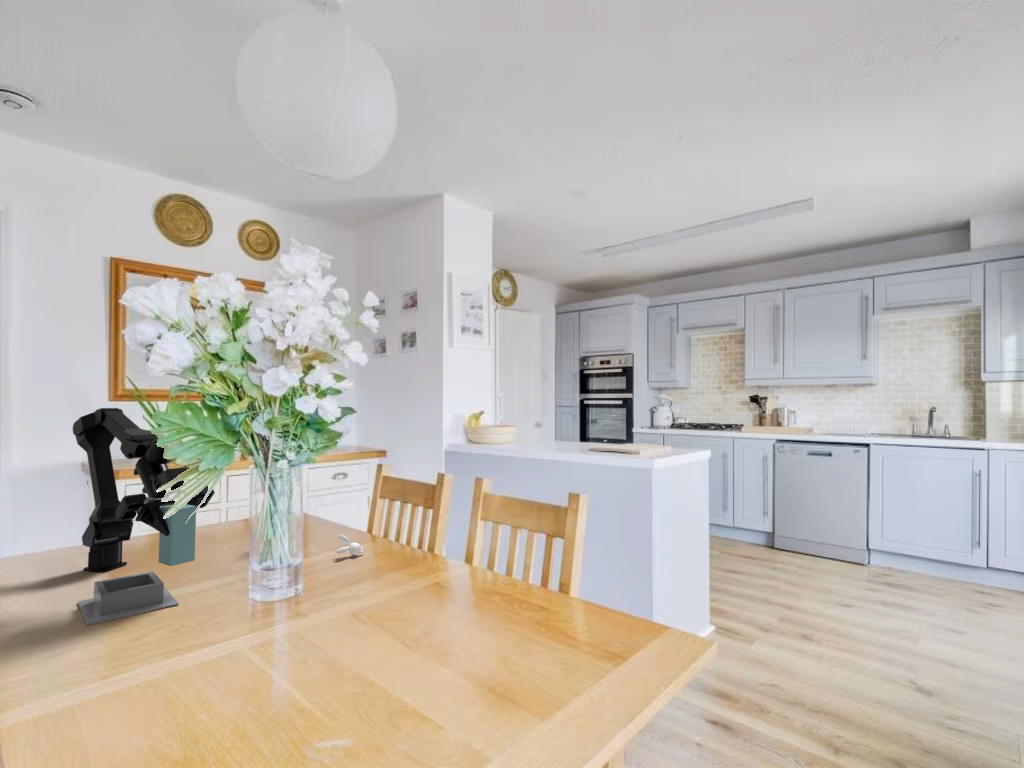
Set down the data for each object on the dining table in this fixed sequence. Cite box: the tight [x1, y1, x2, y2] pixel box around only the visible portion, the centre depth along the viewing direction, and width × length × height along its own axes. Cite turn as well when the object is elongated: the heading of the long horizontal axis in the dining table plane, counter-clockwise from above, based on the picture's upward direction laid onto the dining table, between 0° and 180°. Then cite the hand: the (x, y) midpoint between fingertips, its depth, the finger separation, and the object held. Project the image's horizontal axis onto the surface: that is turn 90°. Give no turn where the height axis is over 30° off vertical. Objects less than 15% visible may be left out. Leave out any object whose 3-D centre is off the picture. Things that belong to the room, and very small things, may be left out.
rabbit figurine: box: [336, 534, 364, 556], centre depth 147 cm, size 6×4×8 cm
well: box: [77, 571, 179, 626], centre depth 111 cm, size 15×15×4 cm
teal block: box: [158, 504, 197, 567], centre depth 118 cm, size 5×5×12 cm
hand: (180, 532), depth 118 cm, fingers closed on teal block, 5 cm apart
